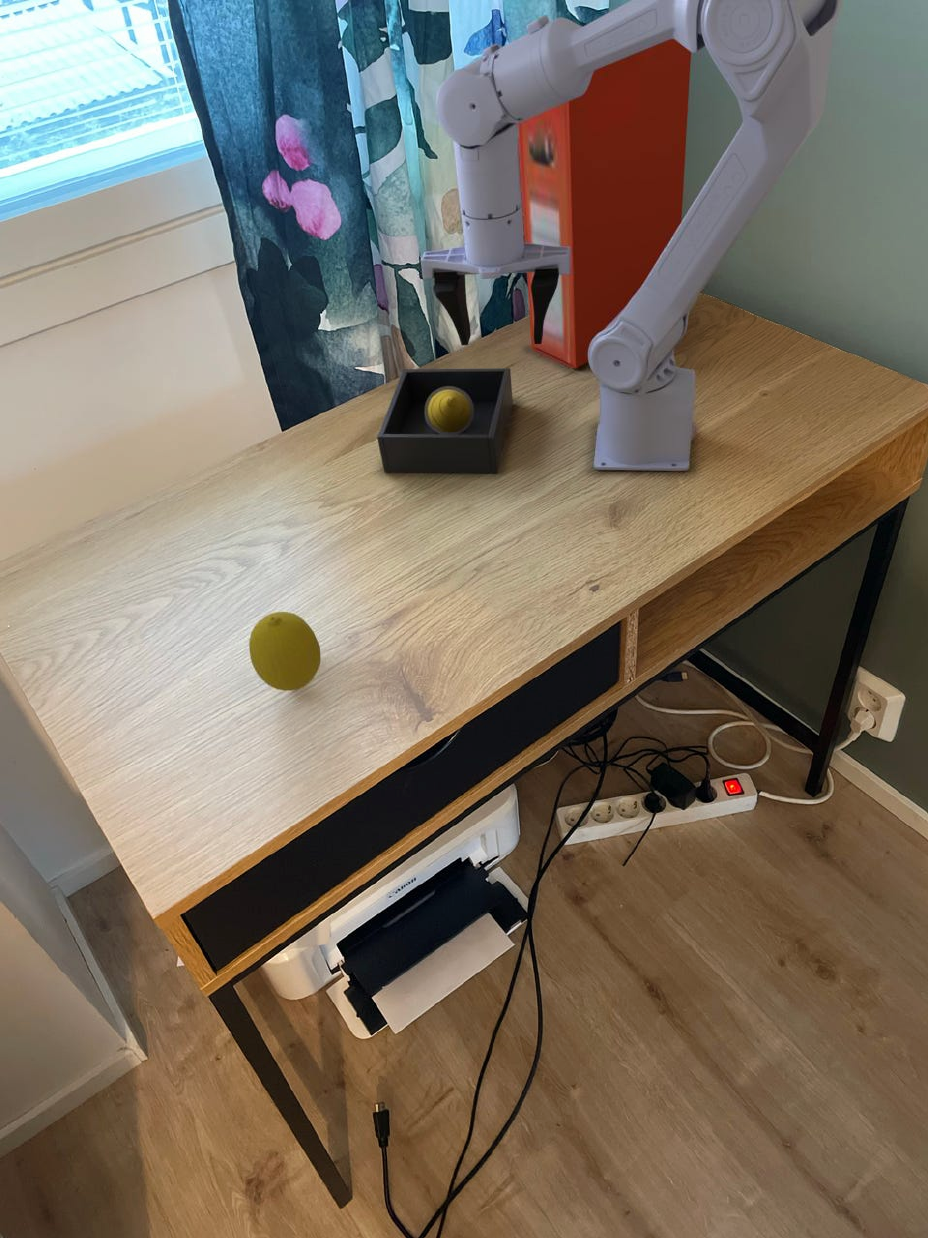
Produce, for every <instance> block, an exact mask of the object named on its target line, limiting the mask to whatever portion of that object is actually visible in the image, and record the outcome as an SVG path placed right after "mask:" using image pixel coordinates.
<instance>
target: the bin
mask: <svg viewBox="0 0 928 1238" xmlns="http://www.w3.org/2000/svg"><path fill="white" fill-rule="evenodd" d="M511 374H512V373H511V368H510V367H509V368H508V367H507V368H506V367H505V368H414V369H413V368H411V369H410V368H409V369H408V368H407V369H406V368H405V369H404V368H403V369H402V372H401V374H400V377H399V380H398V383H397V385H396V387H395V390H394V392H393V395H392V397H391V400H390V403H389V406H388V408H387V410H386V413H385V415H384V418H383V421H382V423H381V426H380V429H379V431H378V434H377V436H376V439H377V444H378V449H379V452H380V458H381V464H382V468H383V472H384V473H406V474H407V473H408V474H417V473H418V474H476V475H477V474H480V475H481V474H487V475H488V474H489V475H490V474H491V475H497V474H498V472H499V466H500V463H501V459H502V453H503V449H504V445H505V440H506V437H507V431H508V426H509V423H510V418H511V414H512V409H513V404H514V401H513V389H512V387H513V386H512V375H511ZM445 386H453V387H457V388H459V389H461V390H463V391H464V392H465V393H467V395H468V396H469V397H470V399H471V401H472V403H473V407H474V416H473V420H472V423H471V425H470V426H469V428H468V429H467V430H466V431H465V432H464V433H462V434H436V433H435V432H433V431H432V430H431V429H430V427H429V426H428V424H427V422H426V419H425V413H424V412H425V404H426V401H427V399H428V397H429V396H430V395H431V393H433V392H434V391H435V390H437V389H439V388H441V387H445Z"/></svg>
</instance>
